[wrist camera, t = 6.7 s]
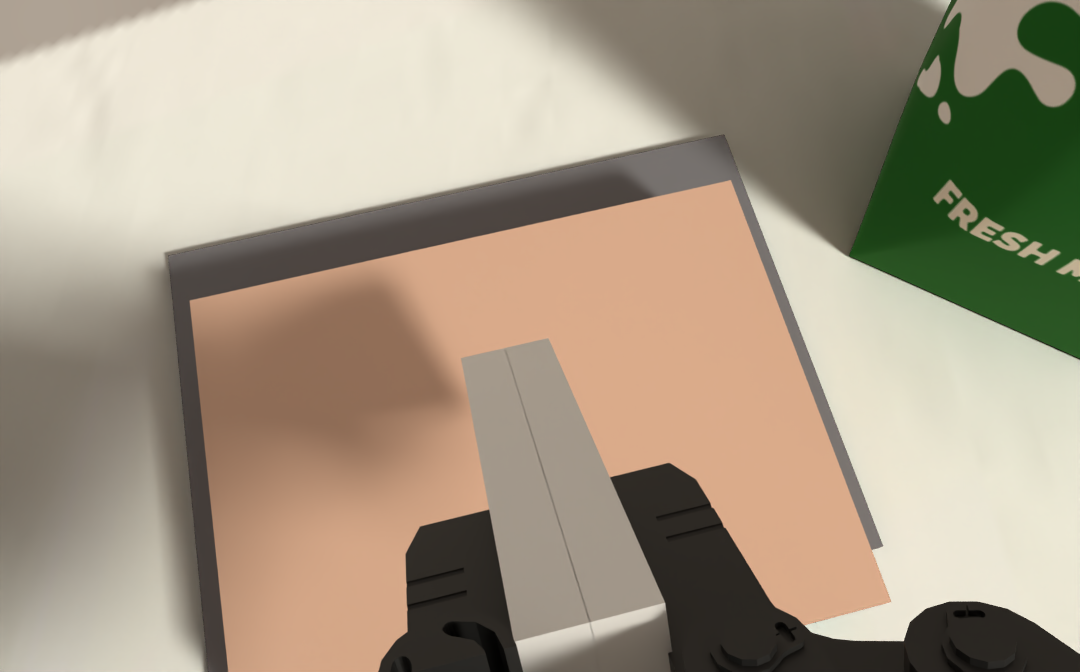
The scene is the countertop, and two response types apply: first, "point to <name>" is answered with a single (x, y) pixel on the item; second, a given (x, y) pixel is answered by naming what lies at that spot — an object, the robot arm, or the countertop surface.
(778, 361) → the terracotta tile
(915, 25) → the countertop surface
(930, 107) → the milk carton
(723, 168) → the rubber mat
